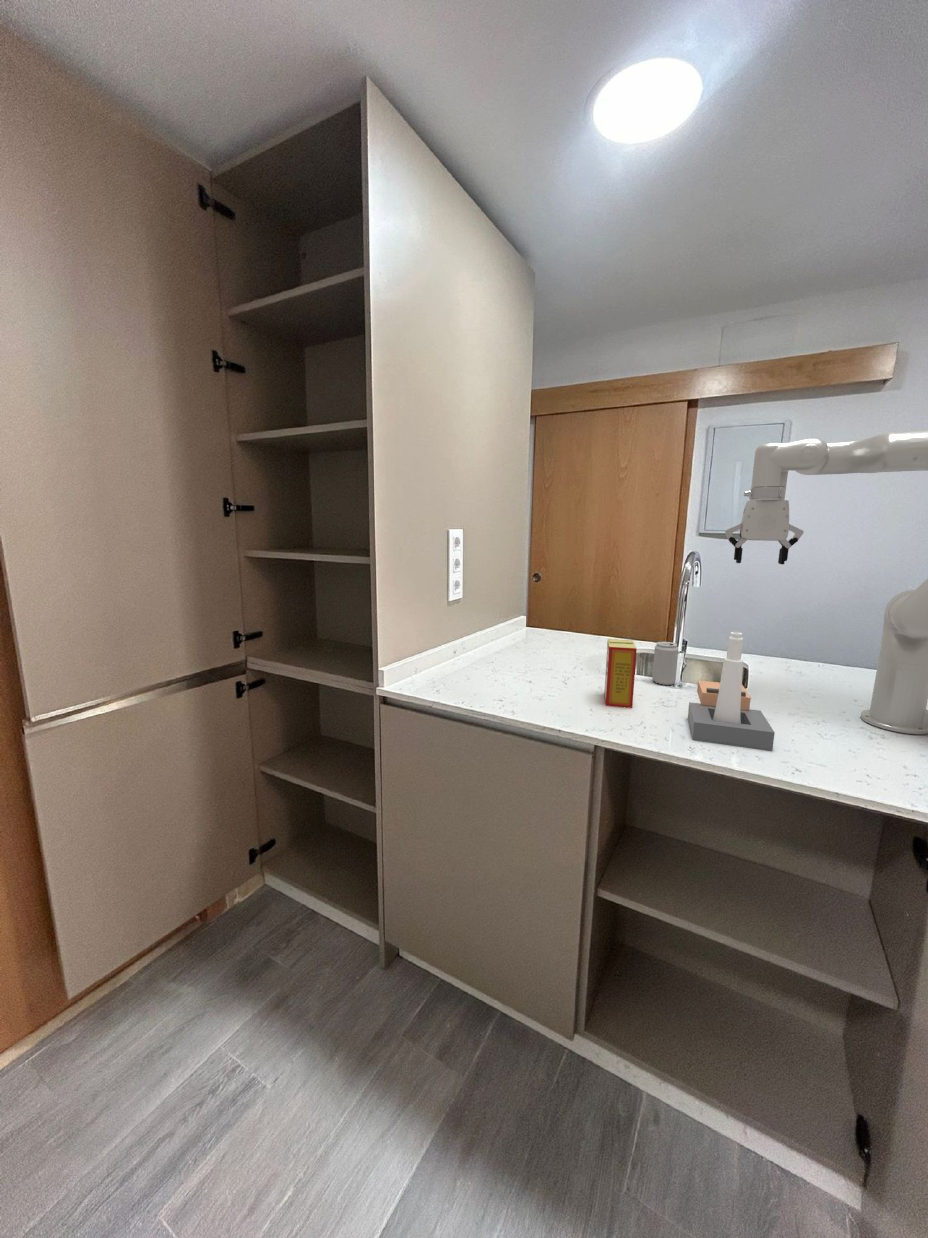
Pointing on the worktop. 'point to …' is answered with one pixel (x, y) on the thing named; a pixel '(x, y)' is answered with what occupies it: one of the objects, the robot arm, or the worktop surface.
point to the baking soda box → (620, 673)
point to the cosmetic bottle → (731, 682)
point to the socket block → (730, 728)
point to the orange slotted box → (710, 694)
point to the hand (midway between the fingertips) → (759, 563)
